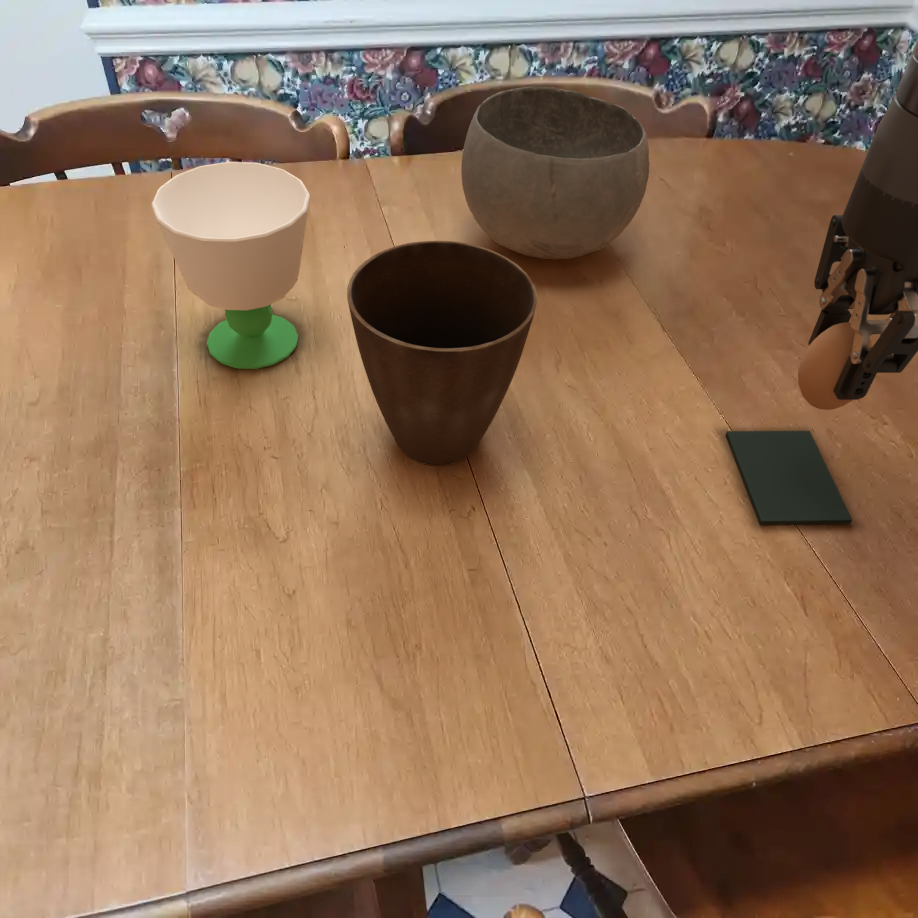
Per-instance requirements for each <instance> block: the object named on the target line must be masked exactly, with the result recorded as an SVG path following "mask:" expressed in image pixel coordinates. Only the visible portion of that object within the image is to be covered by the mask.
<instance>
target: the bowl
mask: <svg viewBox="0 0 918 918" xmlns="http://www.w3.org/2000/svg"><path fill="white" fill-rule="evenodd" d="M648 141H649V140H648V137H647V133H646V131H645V128H644V126H643V124H642V123H641V122H640V121H639V119H638V118H636V117H635V116H634V114H633V113H632V112H631V111H629V110H628V109H626V108H625V107H622V106H620V105H619V104H616V103H614V102H611V101H607V100H604V99H601V98H597V97H594V96H592V95H589V94H586V93H585V92H580V91H576V90H571V89H568V90H566V89H564V88H558V87H555V86H554V87H553V86H537V85H534V86H524V87H516V88H511V89H507V90H502V91H498V92H496V93H494V94H492V95H490V96H489V97H486V98H485V99H484V101H482V102H481V103H480V104H479V106H477V108H476V109H475V112H474V114H473V117H472V118H471V122H470V124H469V126H468V129H467V133H466V136H465V140H464V144H463V149H462V156H461V166H460V167H461V168H460V169H461V172H460V173H461V185H462V186H461V187H462V190H463V194H464V198H465V201H466V204H467V207H468V209H469V211H470V214H471V215H472V216H473V219H474V220H475V221H476V223H477V224H478V226H479V227H480V228H481V230H483V231H484V233H485V234H486V235H487V236H488V237H489V238H491V240H492V241H494V242H495V243H496V244H498V245H500V246H502V247H503V248H506V249H508V250H510V251H513V252H515V253H517V254H520V255H523V256H526V257H530V258H536V259H541V260H542V259H543V260H544V259H545V260H567V259H575V258H580V257H582V256H586V255H589V254H592V253H594V252H597V251H599V250H601V249H603V248H605V247H606V246H608V245H609V244H610V243H612V242H613V241H615V239H617V238H618V237H619V236H620V235H621V234H622V233H623V232H624V230H625V229H626V228H627V227H628V226H629V225H630V223H631V222H632V220H633V219H634V218H635V216H636V214H637V212H638V211H639V208H640V207H641V205H642V202H643V200H644V198H645V194H646V190H647V185H648V181H649V175H650V155H649V154H650V147H649V142H648Z"/></svg>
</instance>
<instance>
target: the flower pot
mask: <svg viewBox="0 0 918 918" xmlns="http://www.w3.org/2000/svg"><path fill="white" fill-rule="evenodd" d="M346 299H347V305H348V309H349V314H350V318H351V322H352V327H353V332H354V336H355V340H356V344H357V347H358V352H359V355H360V358H361V362H362V364H363V369H364V372H365V375H366V378H367V380H368V383H369V386H370V388H371V391H372V394H373V396H374V399H375V401H376V404H377V406H378V408H379V411H380V414H381V416H382V418H383V419H384V422H385V424H386V425H387V428H388V430H389V431H390V433H391V435H392V437H393V439H394V441H395V443H396V445H397V446H398V448H399V449H400V451H401V452H402V453H403V454H404V455H405V456H406V457H408V458H409V459H411V460H413V461H415V462H417V463H420V464H423V465H427V466H432V467H433V466H435V467H442V466H443V467H444V466H450V465H453V464H457V463H459V462H462V461H464V460H465V459H466V458H468V457H469V456H471V454H473V452H474V451H475V449H476V448H477V447H478V445H479V443H480V442H481V440H482V439H483V437H484V436H485V434H486V433H487V431H488V429H489V428H490V426H491V424H492V422H493V421H494V418H495V416H496V415H497V413H498V411H499V409H500V407H501V405H502V403H503V401H504V399H505V397H506V394H507V392H508V390H509V388H510V385H511V383H512V381H513V378H514V376H515V374H516V371H517V368H518V366H519V364H520V361H521V357H522V355H523V352H524V349H525V346H526V343H527V339H528V336H529V333H530V329H531V326H532V323H533V319H534V316H535V312H536V309H537V306H538V305H537V304H538V294H537V290H536V287H535V284H534V281H532V278H531V277H530V276H529V275H528V273H527V272H526V271H525V270H524V268H522V267H521V266H519V265H518V264H517V263H516V262H514V261H513V260H511V259H510V258H508V257H506V256H505V255H503V254H501V253H498V252H496V251H494V250H492V249H489V248H485V247H483V246H479V245H475V244H471V243H465V242H461V241H452V240H451V241H450V240H423V241H413V242H407V243H403V244H399V245H395V246H392V247H389V248H387V249H384V250H382V251H379V252H377V253H375V254H374V255H371V256H370V257H369V258H368V259H366V260H364V261H363V262H362V263H361V264H360V265H359V266H357V268H356V269H355V270H354V271H353V273H352V274H351V276H350V279H349V281H348V284H347V288H346Z"/></svg>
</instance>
